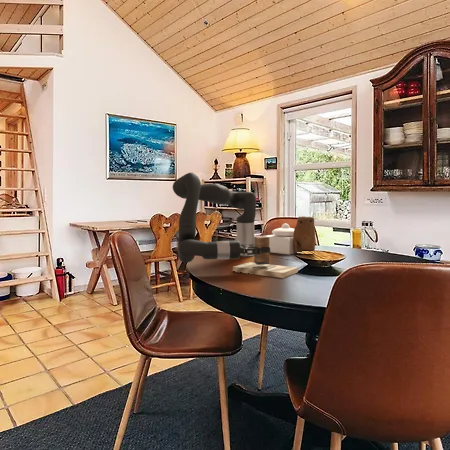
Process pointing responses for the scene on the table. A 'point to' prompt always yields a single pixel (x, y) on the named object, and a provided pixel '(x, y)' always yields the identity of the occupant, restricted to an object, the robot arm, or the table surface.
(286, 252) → the white lidded container
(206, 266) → the table surface
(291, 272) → the board
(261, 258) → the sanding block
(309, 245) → the brown plush animal
